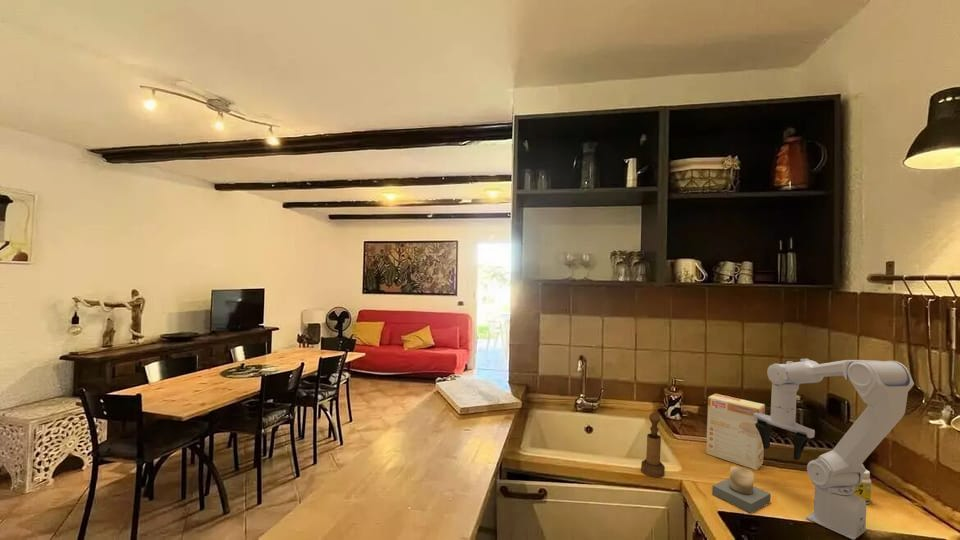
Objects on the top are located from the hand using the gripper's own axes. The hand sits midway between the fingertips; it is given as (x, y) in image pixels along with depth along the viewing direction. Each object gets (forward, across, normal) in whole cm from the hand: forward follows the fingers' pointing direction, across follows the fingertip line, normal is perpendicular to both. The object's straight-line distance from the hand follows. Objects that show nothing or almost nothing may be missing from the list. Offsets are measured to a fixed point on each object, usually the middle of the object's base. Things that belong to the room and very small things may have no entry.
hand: (781, 453), depth 119 cm
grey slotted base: (+10, +3, +15) cm, 19 cm away
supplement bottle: (+11, -13, -14) cm, 22 cm away
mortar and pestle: (+11, +24, +24) cm, 36 cm away
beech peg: (+10, +3, +15) cm, 18 cm away
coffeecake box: (+11, +17, -8) cm, 21 cm away
